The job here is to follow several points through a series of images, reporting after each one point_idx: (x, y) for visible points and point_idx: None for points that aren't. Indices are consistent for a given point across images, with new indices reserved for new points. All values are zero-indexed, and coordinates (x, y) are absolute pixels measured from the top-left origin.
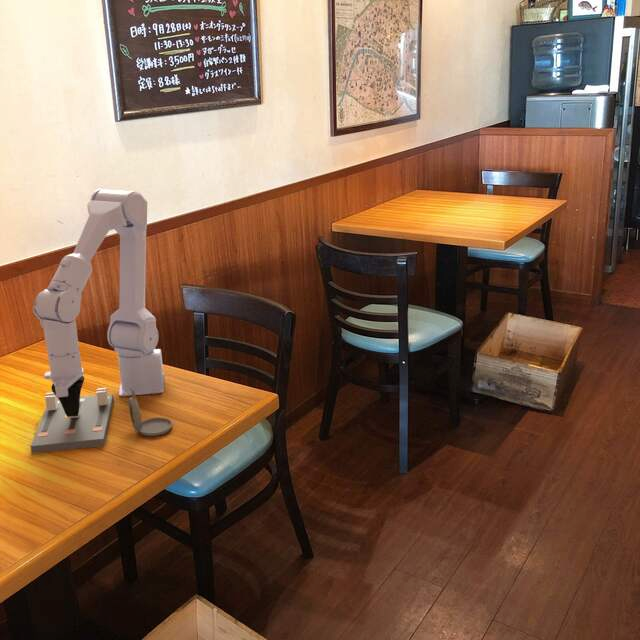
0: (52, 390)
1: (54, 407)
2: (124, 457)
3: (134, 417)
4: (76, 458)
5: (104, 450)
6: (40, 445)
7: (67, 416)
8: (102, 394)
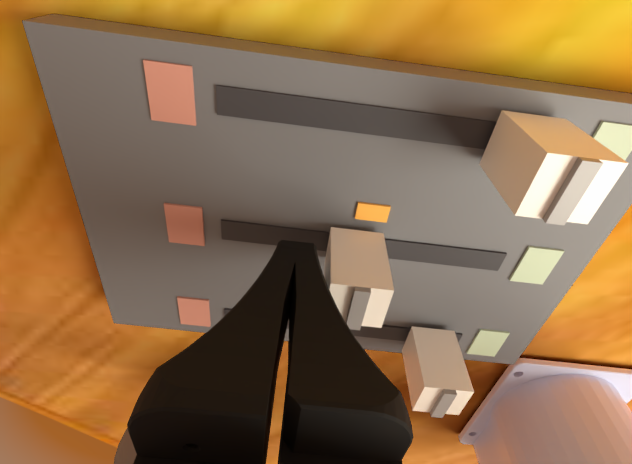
0: (155, 383)
1: (487, 163)
2: (49, 338)
3: (131, 450)
4: (25, 219)
5: (94, 298)
6: (44, 83)
7: (278, 242)
8: (414, 389)
